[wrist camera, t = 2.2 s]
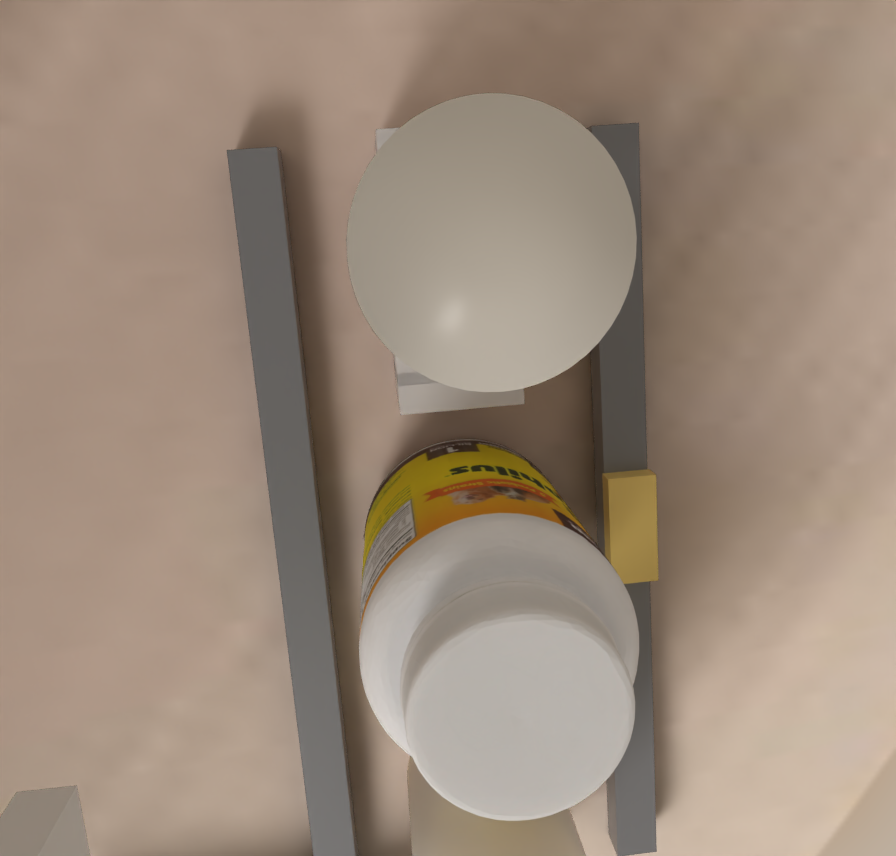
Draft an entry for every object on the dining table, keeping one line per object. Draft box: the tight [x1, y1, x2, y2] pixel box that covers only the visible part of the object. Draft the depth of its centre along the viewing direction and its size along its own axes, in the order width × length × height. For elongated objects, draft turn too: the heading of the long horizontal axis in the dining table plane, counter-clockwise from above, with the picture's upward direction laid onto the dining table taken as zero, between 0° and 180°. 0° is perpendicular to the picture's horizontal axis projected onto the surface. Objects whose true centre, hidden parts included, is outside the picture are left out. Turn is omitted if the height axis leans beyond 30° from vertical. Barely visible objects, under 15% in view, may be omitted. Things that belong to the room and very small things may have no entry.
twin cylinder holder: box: [227, 93, 658, 856], centre depth 19 cm, size 21×10×10 cm, turn 4°
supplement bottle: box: [359, 439, 639, 821], centre depth 19 cm, size 6×6×10 cm
